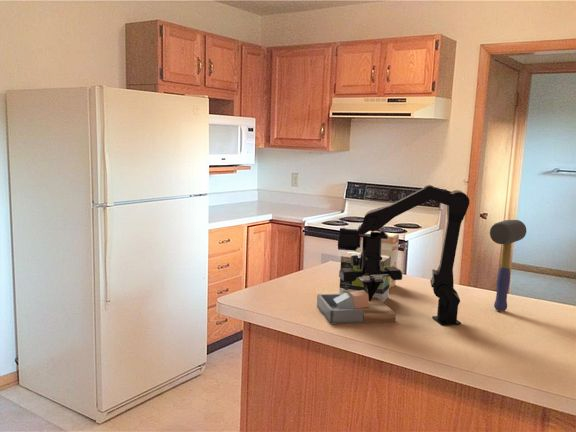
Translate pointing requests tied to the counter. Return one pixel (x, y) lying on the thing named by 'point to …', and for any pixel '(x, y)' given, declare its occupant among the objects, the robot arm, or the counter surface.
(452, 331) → the counter surface
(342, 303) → the gray cube
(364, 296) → the peach cube
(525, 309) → the counter surface
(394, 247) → the coffeecake box
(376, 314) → the board
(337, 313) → the tray
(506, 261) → the rubber mallet
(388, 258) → the tea box
